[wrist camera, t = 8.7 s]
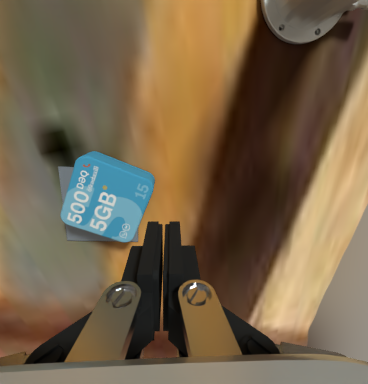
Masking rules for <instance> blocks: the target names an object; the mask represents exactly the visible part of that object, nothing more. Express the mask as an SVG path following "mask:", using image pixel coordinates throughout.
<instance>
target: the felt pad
mask: <svg viewBox="0 0 368 384" xmlns="http://www.w3.org/2000/svg"><path fill="white" fill-rule="evenodd" d="M58 168H59V177H60V185H61V193H62V201H63V204H64V200H65V197H66V193H67V190H68V186H69V183H70V179H71V176H72V172H73V169H74V167H58ZM65 225H66V233H67V240H76V241H117V240H114V239H111V238H108V237H104V236H101V235H98V234H95V233H92V232H89V231H86V230H82V229H79V228H76V227H73V226H70V225H67V224H66V223H65ZM129 242H138V229H137V231H136V234H135V236H134V238H133V239H132V240H131V241H129Z"/></svg>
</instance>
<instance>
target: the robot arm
mask: <svg viewBox="0 0 368 384" xmlns="http://www.w3.org/2000/svg"><path fill="white" fill-rule="evenodd" d="M261 6H262V12H263V15H264V19H265V21H266V23H267V25H268V27H269V28H270V30H271V31H272V32H273V34H274V35H276V36H277V37H278V38H279V39H281V40H283V41H285V42H287V43H291V44H305V43H309V42H311V41H314V40H316V39H318V38H319V37H321V36H323V35H324V34H326V33H327V32H328V31H329V30H330V29H332V27H333V26H334V25H335V24H336V23H337V22H338V20H339V19H340V17H341V16H342V14H343V13H344V12H345V11H347V10H349V11H352V10H354V9H356V8H361V9H364V10H368V0H261ZM279 28H280V30H279ZM162 273H163V331H168V340H169V341H170V342H171V343H172V344H174V345H175V346H176V347H177V358H152V359H143V356H144V348H145V347H146V346H147V345H148V344H149V343H150V342H151V341H152V340H154V333H155V331H159V330H160V311H161V292H162ZM0 384H368V362H366V361H361V360H357V359H352V358H348V357H346V356H344V355H342V354H339V353H336V352H331V351H326V350H321V349H316V348H311V347H306V346H300V345H295V344H290V343H285V342H281V343H280V345H278V344H274V342H273V341H272V340H270V339H269V338H268V337H267V336H265V335H264V334H263V333H261V332H260V331H258V330H257V329H255V328H254V327H252V326H251V325H249V324H248V323H246V322H245V321H243V320H242V319H240V318H239V317H238V316H236V315H235V314H233V313H232V312H230V311H229V310H227V309H226V308H224V307H223V306H221V304H220V302H219V299H218V297H217V295H216V293H215V290H214V289H213V287H212V286H211V285H210V284H208V283H207V282H204V281H201V280H200V274H199V268H198V263H197V257H196V251H195V246H181V234H180V222H170V224H165V244H164V265H163V240H162V224H159V223H158V222H148V224H147V229H146V234H145V239H144V243H143V246H132V247H131V250H130V253H129V257H128V260H127V263H126V267H125V270H124V274H123V277H122V280H121V282H117V283H115V284H112V285H111V286H109V287H108V288H107V289H106V290H105V291H104V293H103V294H102V296H101V298H100V299H99V301H98V303H97V305H96V307H95V308H94V310H93V311H92V312H90V313H89V314H87V315H86V316H84V317H83V318H81V319H80V320H78V321H77V322H75V323H74V324H72V325H71V326H69V327H68V328H66V329H65V330H63V331H62V332H60V333H58V334H57V335H55V336H54V337H52V338H51V339H49V340H48V341H46V342H45V343H43V344H42V345H40V346H39V347H38V348H37V349H35V350H34V351H33V352H32V353H31V354H28V355H27V354H26V352H21V353H17V354H13V355H9V356H5V357H1V358H0Z"/></svg>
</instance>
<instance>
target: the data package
mask: <svg viewBox="0 0 368 384" xmlns="http://www.w3.org/2000/svg"><path fill="white" fill-rule="evenodd" d="M154 183H155V179H154V177H153V175H152V174H151V173H149V172H147V171H145V170H142V169H140V168H137V167H134V166H132V165H129V164H127V163H124V162H122V161H119V160H117V159H114V158H112V157H109V156H107V155H104V154H102V153H99V152H96V151H93V152H89V153H87V154H85V155H83V156H81V157H79V158H78V159H77V160H76V162H75V165H74V169H73V172H72V176H71V179H70V183H69V186H68V190H67V193H66V197H65V200H64V204H63V207H62V211H61V219H62V221H63V222H64V223H66V224H67V225H70V226H73V227H76V228H79V229H82V230H86V231H89V232H92V233H95V234H98V235H101V236H104V237H108V238H111V239H114V240H117V241H120V242H129V241H131V240H132V239H133V238H134V236H135V234H136V231H137V229H138V226H139V224H140V221H141V219H142V217H143V214H144V212H145V209H146V207H147V204H148V202H149V200H150V197H151V195H152V192H153V188H154Z"/></svg>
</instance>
